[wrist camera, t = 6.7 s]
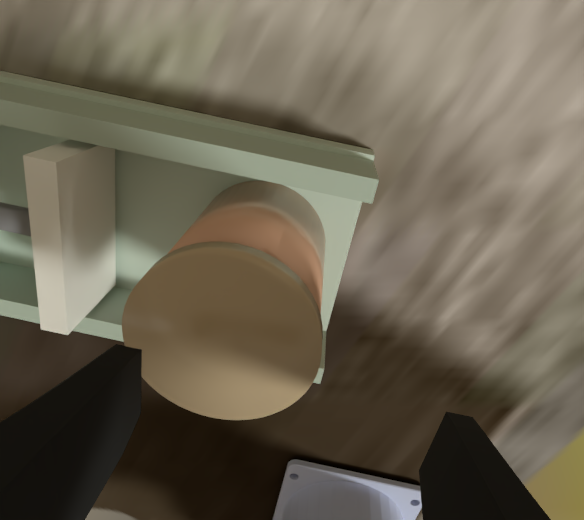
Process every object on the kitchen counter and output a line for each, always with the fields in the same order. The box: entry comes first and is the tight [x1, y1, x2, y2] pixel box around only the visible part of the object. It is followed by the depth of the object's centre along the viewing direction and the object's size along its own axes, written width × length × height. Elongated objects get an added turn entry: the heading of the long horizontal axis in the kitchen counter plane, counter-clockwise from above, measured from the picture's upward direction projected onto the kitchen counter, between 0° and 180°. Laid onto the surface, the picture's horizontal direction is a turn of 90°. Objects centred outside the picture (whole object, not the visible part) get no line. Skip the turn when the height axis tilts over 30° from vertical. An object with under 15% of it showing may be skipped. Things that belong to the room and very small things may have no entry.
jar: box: [122, 180, 326, 420], centre depth 14 cm, size 5×5×7 cm
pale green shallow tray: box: [0, 71, 379, 384], centre depth 16 cm, size 9×16×5 cm, turn 80°
